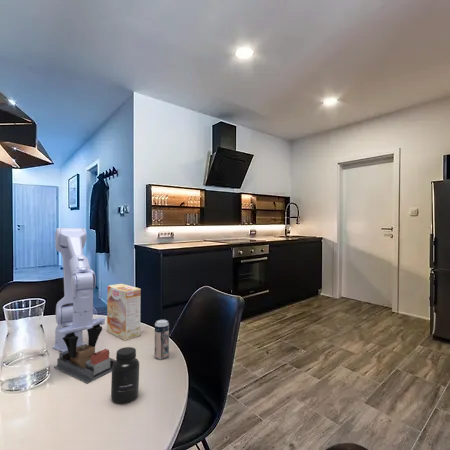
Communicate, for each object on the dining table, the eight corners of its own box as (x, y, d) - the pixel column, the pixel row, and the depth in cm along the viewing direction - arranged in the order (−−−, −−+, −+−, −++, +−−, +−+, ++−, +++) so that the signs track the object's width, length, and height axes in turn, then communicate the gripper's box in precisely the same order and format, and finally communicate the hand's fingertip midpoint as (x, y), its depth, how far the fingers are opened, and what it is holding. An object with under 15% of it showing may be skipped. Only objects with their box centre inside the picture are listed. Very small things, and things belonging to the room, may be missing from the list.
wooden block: (70, 365, 89) (70, 347, 89) (85, 359, 93) (85, 342, 93) (79, 369, 86) (80, 351, 86) (94, 363, 90) (94, 345, 90)
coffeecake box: (106, 331, 119) (106, 285, 119) (121, 327, 124) (122, 283, 124) (124, 341, 109) (125, 290, 109) (140, 335, 115) (141, 288, 115)
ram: (85, 371, 84) (85, 353, 84) (102, 364, 89) (102, 346, 89) (93, 375, 82) (94, 356, 82) (110, 367, 87) (110, 349, 87)
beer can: (165, 360, 94) (165, 324, 94) (152, 358, 95) (152, 323, 95) (170, 354, 98) (171, 319, 98) (158, 352, 99) (158, 318, 99)
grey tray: (54, 367, 88) (54, 355, 88) (86, 354, 97) (87, 342, 97) (87, 383, 79) (87, 369, 79) (119, 367, 89) (119, 354, 89)
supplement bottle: (122, 408, 69) (123, 359, 69) (105, 399, 72) (106, 352, 72) (144, 394, 75) (145, 348, 75) (127, 386, 78) (127, 343, 78)
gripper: (67, 318, 81) (67, 365, 81) (110, 306, 94) (110, 347, 94) (54, 314, 85) (53, 359, 85) (97, 303, 98) (96, 342, 97)
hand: (82, 352), depth 90 cm, fingers open, 6 cm apart
